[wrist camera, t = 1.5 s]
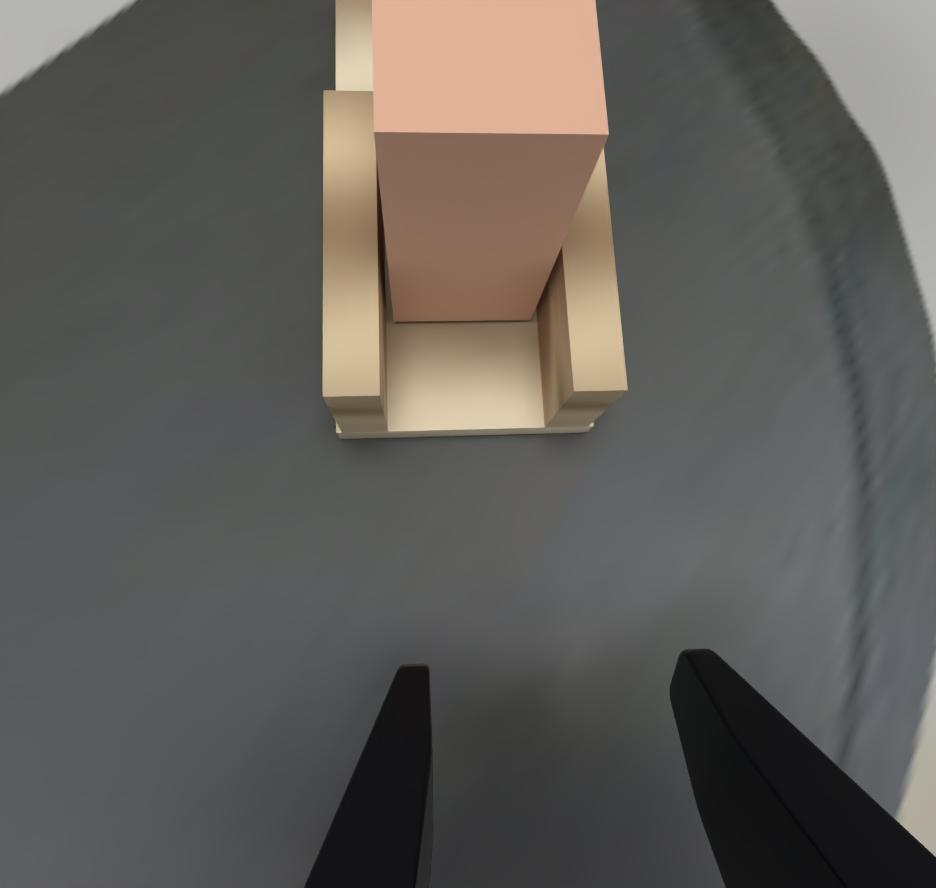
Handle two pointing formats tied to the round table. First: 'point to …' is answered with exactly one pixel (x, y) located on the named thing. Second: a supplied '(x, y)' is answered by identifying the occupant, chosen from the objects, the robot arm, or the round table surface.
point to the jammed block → (482, 147)
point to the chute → (451, 342)
